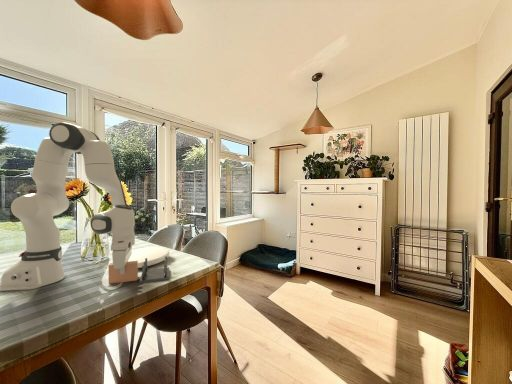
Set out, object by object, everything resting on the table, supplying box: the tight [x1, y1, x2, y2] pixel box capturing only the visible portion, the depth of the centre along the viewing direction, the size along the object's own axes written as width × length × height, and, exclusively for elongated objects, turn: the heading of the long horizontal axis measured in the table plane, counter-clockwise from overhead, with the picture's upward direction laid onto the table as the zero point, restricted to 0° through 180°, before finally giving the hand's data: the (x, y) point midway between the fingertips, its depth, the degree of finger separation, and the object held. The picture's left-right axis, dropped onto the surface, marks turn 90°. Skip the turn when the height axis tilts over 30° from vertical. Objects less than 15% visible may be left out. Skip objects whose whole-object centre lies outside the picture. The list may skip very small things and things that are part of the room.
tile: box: [108, 261, 139, 284], centre depth 102 cm, size 11×3×8 cm, turn 110°
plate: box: [128, 246, 170, 269], centre depth 127 cm, size 28×6×27 cm
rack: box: [139, 256, 170, 284], centre depth 108 cm, size 12×13×7 cm
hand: (123, 271), depth 102 cm, fingers closed on tile, 3 cm apart
